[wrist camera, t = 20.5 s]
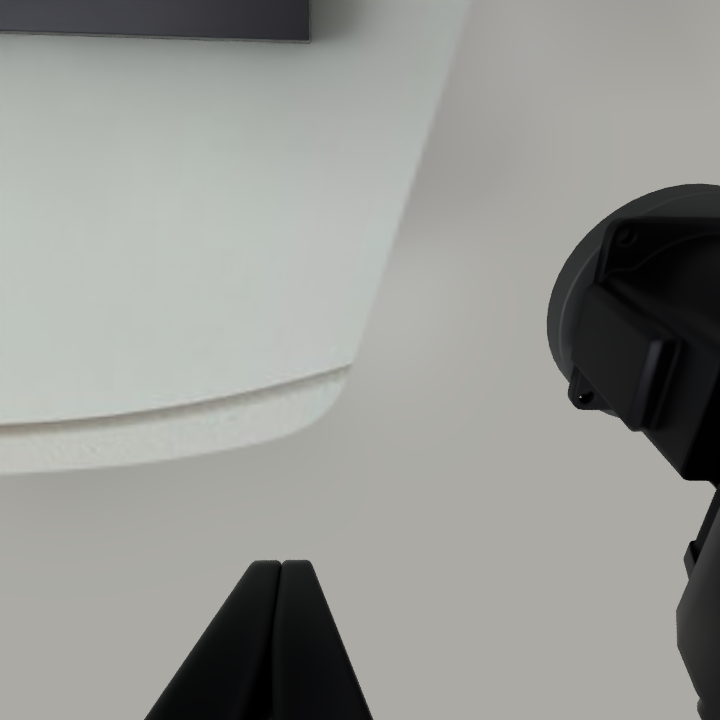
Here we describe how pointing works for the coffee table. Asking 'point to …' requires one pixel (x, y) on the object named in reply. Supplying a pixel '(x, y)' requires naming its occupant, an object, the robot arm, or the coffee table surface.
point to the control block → (162, 19)
